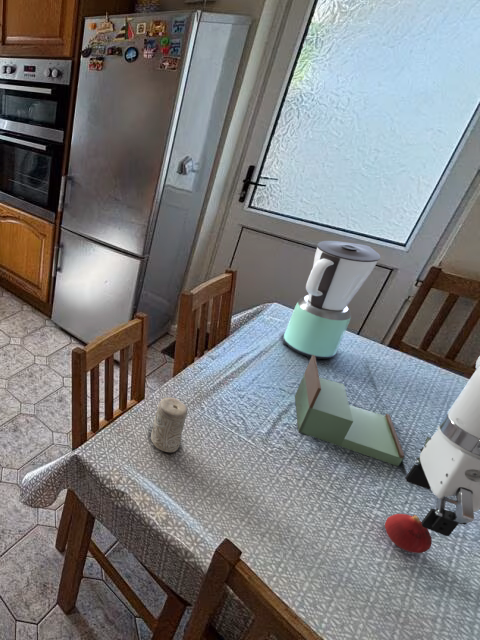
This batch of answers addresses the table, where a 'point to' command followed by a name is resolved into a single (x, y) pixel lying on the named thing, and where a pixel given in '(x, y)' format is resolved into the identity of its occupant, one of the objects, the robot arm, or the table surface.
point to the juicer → (329, 298)
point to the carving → (168, 424)
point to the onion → (408, 533)
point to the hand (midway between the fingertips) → (424, 505)
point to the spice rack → (343, 419)
